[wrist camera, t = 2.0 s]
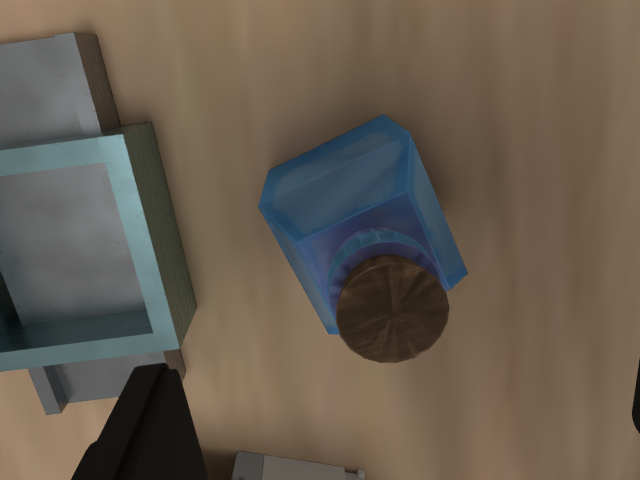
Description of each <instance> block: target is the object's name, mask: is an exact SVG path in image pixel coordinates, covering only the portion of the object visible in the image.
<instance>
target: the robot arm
mask: <svg viewBox="0 0 640 480" xmlns="http://www.w3.org/2000/svg"><path fill="white" fill-rule="evenodd" d="M632 418H633V422H634V425H635V427H636V429H637V430H638V432H639V433H640V360H639V367H638V374H637V381H636V388H635V395H634V402H633V409H632ZM71 480H207V471H206V467H205V463H204V460H203V456H202V452H201V449H200V445H199V442H198V438H197V435H196V431H195V428H194V424H193V420H192V417H191V413H190V410H189V406H188V403H187V399H186V396H185V392H184V389H183V385H182V381H181V378H180V375H179V372H178V370H177V369H169V366H168V365H167V364H166V363H157V364H150V365H142V366H137V367H135V368H134V369H133V371H132V373H131V375H130V377H129V379H128V381H127V383H126V385H125V387H124V388H123V390H122V392H121V394H120V396H119V398H118V400H117V402H116V404H115V406H114V408H113V410H112V412H111V414H110V416H109V418H108V420H107V422H106V424H105V426H104V428H103V430H102V432H101V434H100V436H99V438H98V440H97V441H95V442H94V443H92V444H91V445H90V446H89V447H88V449H87V450H86V452H85V454H84V456H83V458H82V459H81V461H80V463H79V465H78V467H77V469H76V471H75V473H74V475H73V477H72V479H71Z"/></svg>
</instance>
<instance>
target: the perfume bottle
mask: <svg viewBox="0 0 640 480" xmlns="http://www.w3.org/2000/svg"><path fill="white" fill-rule="evenodd" d="M258 207H259V209H260V211H261V212H262V214H263V216H264V218H265V220H266V221H267V223H268V225H269V227H270V229H271V230H272V232H273V234H274V236H275V238H276V239H277V241H278V243H279V245H280V247H281V249H282V250H283V252H284V254H285V256H286V258H287V259H288V261H289V263H290V265H291V267H292V268H293V270H294V272H295V274H296V276H297V278H298V279H299V281H300V283H301V285H302V287H303V288H304V290H305V292H306V294H307V296H308V297H309V299H310V301H311V303H312V305H313V306H314V308H315V310H316V312H317V314H318V316H319V317H320V319H321V321H322V323H323V325H324V326H325V328H326V330H327V332H328V334H339V335H340V336H341V338H342V339H343V341H344V342H345V343H346V344H347V346H348V347H349V348H350V349H351V350H352V351H354V352H355V353H357V354H358V355H360V356H361V357H363V358H365V359H369V360H372V361H376V362H379V363H397V362H401V361H405V360H408V359H412V358H415V357H416V356H418V355H420V354H421V353H423V352H425V351H427V350H428V349H429V348H430V347H431V346H432V345H433V344H434V343H435V342H436V341H437V340H438V339H439V338H440V336H441V334H442V332H443V330H444V328H445V326H446V324H447V321H448V313H449V304H448V299H447V295H446V292H447V291H449V290H451V289H452V288H453V287H454V286H455V285H456V284H457V283H458V282H459V281H460V280H461V279H462V278H463V277H464V276H466V275H467V274H468V273H467V270H466V268H465V265H464V263H463V260H462V258H461V256H460V253H459V251H458V248H457V246H456V243H455V241H454V238H453V236H452V234H451V231H450V229H449V226H448V224H447V221H446V219H445V216H444V214H443V212H442V209H441V207H440V204H439V202H438V199H437V197H436V194H435V192H434V190H433V187H432V185H431V182H430V180H429V177H428V175H427V172H426V170H425V168H424V165H423V163H422V160H421V158H420V155H419V153H418V150H417V148H416V146H415V143H414V141H413V138H412V136H411V133H410V132H408V131H407V130H405V129H404V128H402V127H401V126H399V125H398V124H397V123H395V122H394V121H392V120H391V119H389V118H388V117H387V116H385V115H384V114H383V115H381V116H379V117H377V118H375V119H373V120H371V121H369V122H367V123H365V124H363V125H361V126H359V127H357V128H355V129H353V130H351V131H349V132H347V133H345V134H342V135H340V136H338V137H336V138H334V139H332V140H330V141H328V142H326V143H324V144H322V145H320V146H318V147H316V148H314V149H312V150H310V151H308V152H306V153H304V154H302V155H300V156H298V157H296V158H294V159H292V160H289V161H287V162H285V163H283V164H281V165H279V166H277V167H275V168H273V169H271V170H269V171H268V175H267V178H266V182H265V185H264V188H263V192H262V195H261V198H260V202H259V205H258Z"/></svg>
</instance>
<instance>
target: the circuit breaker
mask: <svg viewBox="0 0 640 480" xmlns="http://www.w3.org/2000/svg"><path fill="white" fill-rule="evenodd" d="M364 477H365V470H359V469H358V471H357V474H354V473H348V472H345V469H344V467H340V466H334V465H327V464H321V463H314V462H308V461H302V460H295V459H289V458H282V457H276V456H269V455H263V454H256V453H250V452H243V451H238V452H237V456H236V460H235V464H234V469H233V473H232V478H231V480H364Z"/></svg>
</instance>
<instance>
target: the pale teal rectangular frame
mask: <svg viewBox="0 0 640 480" xmlns="http://www.w3.org/2000/svg"><path fill="white" fill-rule="evenodd" d="M196 309H197V306H196V302H195V297H194V293H193V289H192V285H191V281H190V277H189V273H188V269H187V264H186V260H185V256H184V252H183V248H182V244H181V240H180V236H179V232H178V227H177V223H176V219H175V215H174V211H173V207H172V203H171V199H170V195H169V190H168V186H167V182H166V178H165V174H164V170H163V166H162V162H161V157H160V153H159V149H158V145H157V141H156V137H155V133H154V129H153V125H152V122H147V123H139V124H132V125H124V126H120V122H119V118H118V115H117V111H116V107H115V103H114V100H113V96H112V92H111V88H110V85H109V81H108V77H107V73H106V70H105V66H104V62H103V58H102V55H101V51H100V47H99V43H98V40H97V36H96V35H92V34H83V33H74V32H73V33H66V34H59V35H54V37H52V38H45V39H37V40H30V41H22V42H15V43H8V44H0V372H3V371H10V370H18V369H26V368H28V371H29V373H30V376H31V378H32V381H33V383H34V386H35V388H36V391H37V393H38V396H39V398H40V401H41V403H42V406H43V408H44V411H45V413H46V415H51V414H58V413H62V411H63V410H64V408H65V407H66V405H67V404H68V403H73V402H81V401H89V400H97V399H105V398H112V397H119V396H120V394H121V392H122V390H123V388H124V387H125V385H126V383H127V381H128V379H129V377H130V375H131V373H132V371H133V369H134V368H135V367H137V366H142V365H150V364H157V363H166V364H167V365H168V366H169V369H177V370H178V372H179V375H180V378H181V381H182V382H183V379H184V377H185V374H186V370H185V366H184V363H183V359H182V355H181V351H180V347H181V345H182V342H183V340H184V338H185V335H186V333H187V330H188V328H189V326H190V323H191V321H192V319H193V316H194V314H195V311H196Z"/></svg>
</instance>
